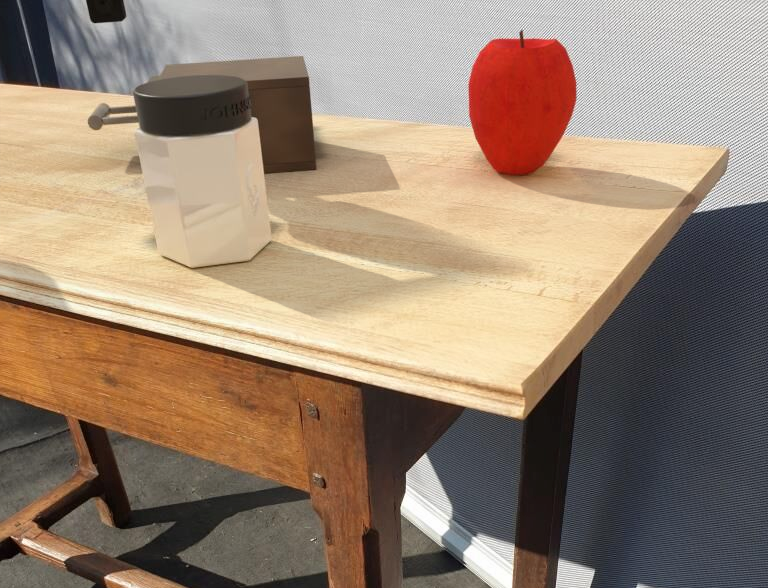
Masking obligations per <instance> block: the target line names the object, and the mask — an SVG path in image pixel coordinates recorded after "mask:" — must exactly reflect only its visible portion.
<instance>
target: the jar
mask: <svg viewBox="0 0 768 588" xmlns="http://www.w3.org/2000/svg"><path fill="white" fill-rule="evenodd" d="M147 82H148V81H147ZM147 82H145V83H143V84H140V85H138V86H136V87H134V89H133V91H132V96H133V100H134V106H136V111H137V113H136V115H137V116H138V121H139V123H138V124H139V125H138V128H136V129H134V132H133V133H134V137H135V142H136V148H137V153H138V157H139V163H140V167H141V172H142V173H141V174H142V177H143V178H142V179H143V182H144V187H145V188H144V189H145V193H146V197H147V202H148V207H149V213H150V218H151V223H152V226H153V233H154V238H155V243H156V248H157V252H158V254H159V255H160V256H162V257H165V258H167V259H170V260H172V261H174V262H177V263H179V264H181V265H184V266H185V267H189V268H190V269H195V268H203V267H211V266H219V265H226V264H233V263H242V262H248V261H249V262H250V261H251V259H253V258H254V257H255V256H256V255H257V254H259V252H261V250H262V249H263V248H265V247H266V246H267V245H268V244H269V243H270V242H271V241H272V239H273V236H272V230H271V220H270V212H269V204H268V195H267V188H266V187H267V186H266V179H265V173H264V169H263V161H262V153H261V144H260V136H259V127H258V120H257V118H255V117H251V109H250V107H251V100H250V94H249V92H248V84H247V82H246V81H245V80H244V79H242V78H239V77H235V76H226V75H194V76H182V77H174V78H167V79H161V80H156V81H152V82H148V83H147Z"/></svg>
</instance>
